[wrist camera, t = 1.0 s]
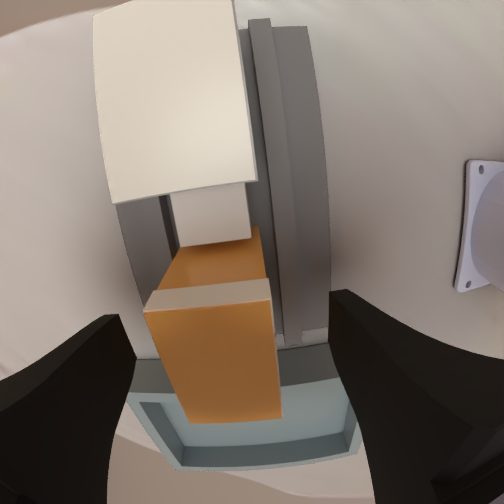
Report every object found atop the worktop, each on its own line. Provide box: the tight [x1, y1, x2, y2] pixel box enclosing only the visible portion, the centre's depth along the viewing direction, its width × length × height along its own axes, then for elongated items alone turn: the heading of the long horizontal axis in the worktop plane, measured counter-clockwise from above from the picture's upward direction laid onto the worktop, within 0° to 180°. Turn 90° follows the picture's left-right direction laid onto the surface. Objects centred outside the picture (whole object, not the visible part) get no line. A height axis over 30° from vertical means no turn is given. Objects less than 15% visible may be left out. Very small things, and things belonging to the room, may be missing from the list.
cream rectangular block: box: [93, 0, 258, 205], centre depth 7 cm, size 3×5×6 cm
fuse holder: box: [116, 18, 331, 346], centre depth 11 cm, size 9×14×4 cm, turn 7°
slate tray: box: [126, 343, 363, 471], centre depth 16 cm, size 14×10×3 cm
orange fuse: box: [143, 226, 283, 424], centre depth 10 cm, size 3×5×6 cm
